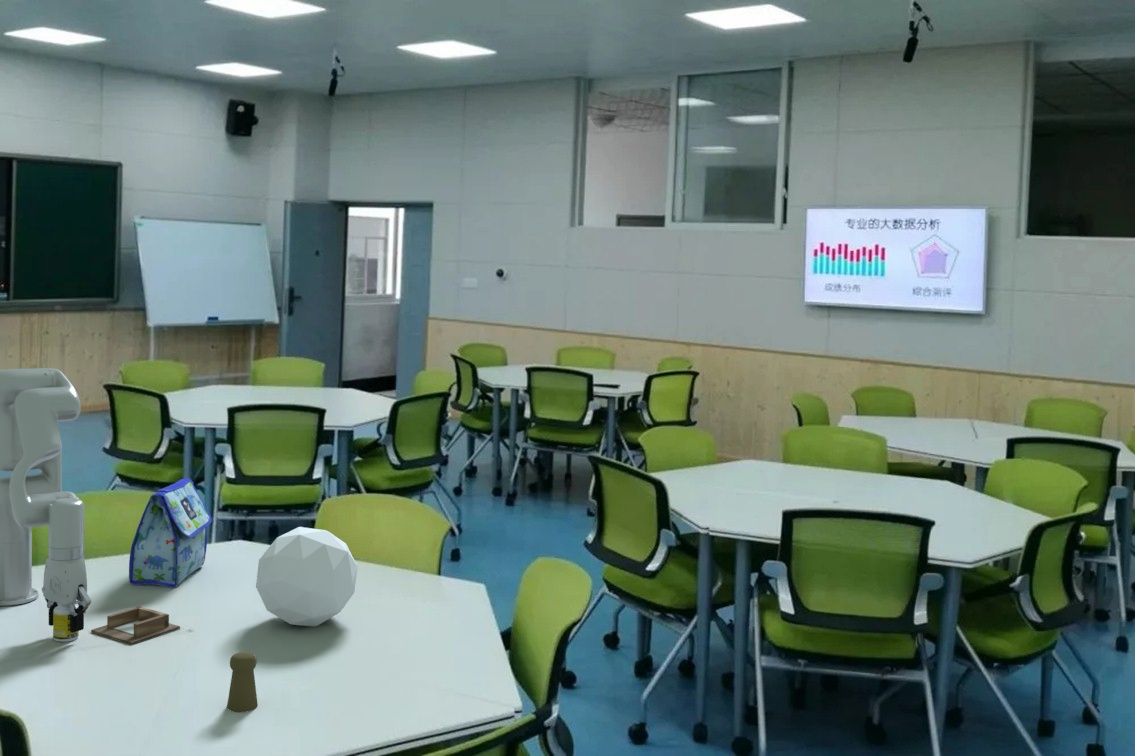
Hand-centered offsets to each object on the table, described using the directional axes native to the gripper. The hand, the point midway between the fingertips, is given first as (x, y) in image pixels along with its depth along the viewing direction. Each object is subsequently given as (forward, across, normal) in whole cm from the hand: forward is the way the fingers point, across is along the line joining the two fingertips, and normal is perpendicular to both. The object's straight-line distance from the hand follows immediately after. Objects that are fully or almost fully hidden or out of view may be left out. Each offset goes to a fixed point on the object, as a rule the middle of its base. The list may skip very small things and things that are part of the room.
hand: (66, 626), depth 254 cm
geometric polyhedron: (+3, +35, +42) cm, 55 cm away
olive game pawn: (+3, +60, -4) cm, 60 cm away
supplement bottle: (+3, 0, 0) cm, 3 cm away
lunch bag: (+3, -20, +48) cm, 52 cm away
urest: (+3, +8, +13) cm, 16 cm away
